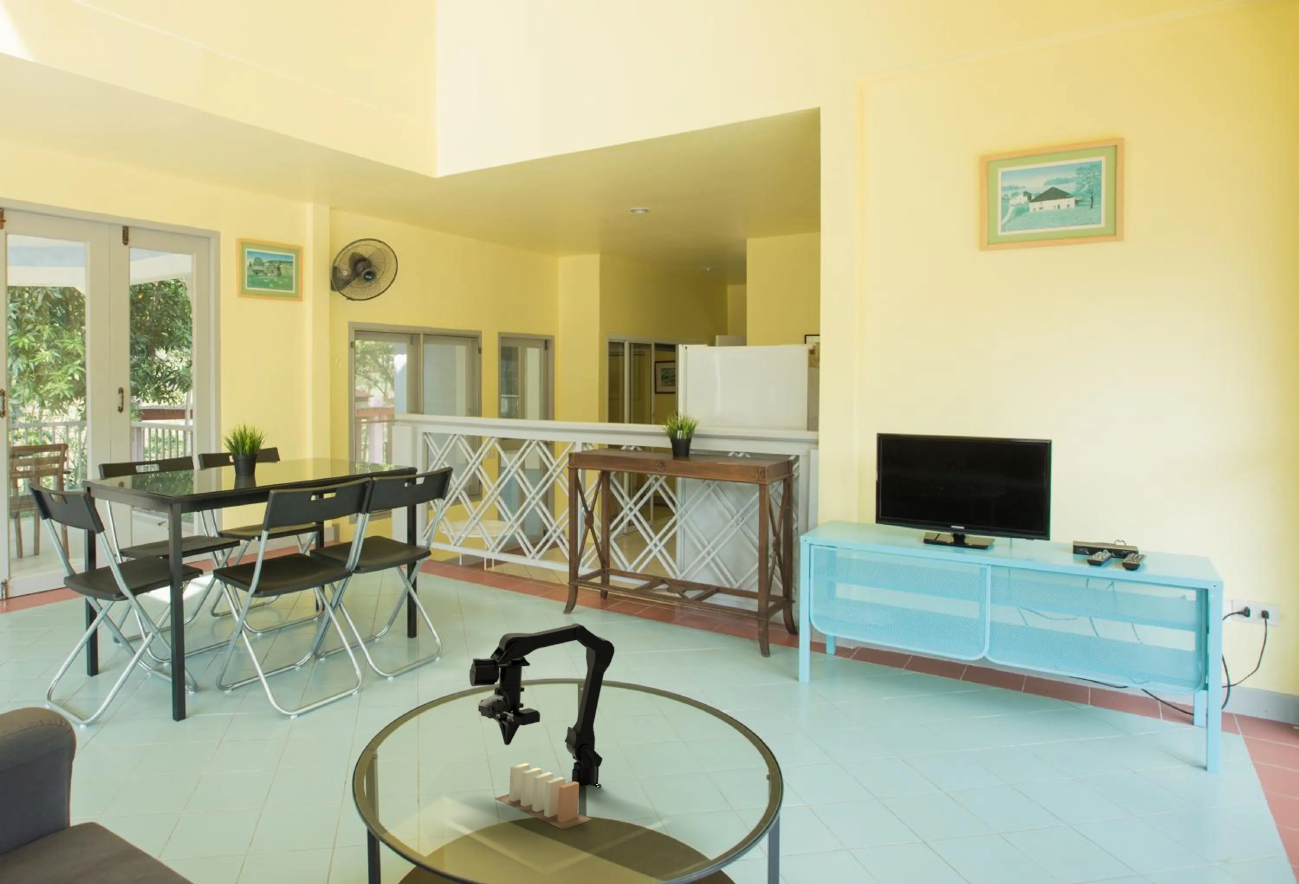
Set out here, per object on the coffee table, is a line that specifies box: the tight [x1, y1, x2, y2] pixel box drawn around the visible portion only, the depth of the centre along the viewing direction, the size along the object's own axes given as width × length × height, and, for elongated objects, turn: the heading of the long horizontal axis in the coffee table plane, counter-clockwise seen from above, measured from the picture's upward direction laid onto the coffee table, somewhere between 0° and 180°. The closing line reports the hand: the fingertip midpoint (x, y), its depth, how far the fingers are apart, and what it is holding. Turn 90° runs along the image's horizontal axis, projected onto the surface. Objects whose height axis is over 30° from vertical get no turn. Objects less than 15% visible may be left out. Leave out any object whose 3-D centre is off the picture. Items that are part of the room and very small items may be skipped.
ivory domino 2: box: [521, 767, 543, 807], centre depth 202 cm, size 2×5×8 cm, turn 138°
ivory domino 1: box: [508, 762, 531, 801], centre depth 205 cm, size 2×5×8 cm, turn 138°
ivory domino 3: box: [532, 771, 554, 812], centre depth 199 cm, size 2×5×8 cm, turn 138°
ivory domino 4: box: [544, 776, 567, 817], centre depth 196 cm, size 2×5×8 cm, turn 138°
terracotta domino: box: [558, 781, 580, 823], centre depth 194 cm, size 2×5×8 cm, turn 138°
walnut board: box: [494, 793, 592, 830], centre depth 199 cm, size 26×9×1 cm, turn 48°
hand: (507, 744), depth 210 cm, fingers closed
